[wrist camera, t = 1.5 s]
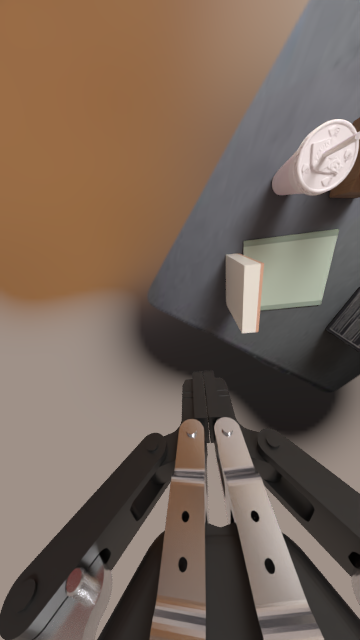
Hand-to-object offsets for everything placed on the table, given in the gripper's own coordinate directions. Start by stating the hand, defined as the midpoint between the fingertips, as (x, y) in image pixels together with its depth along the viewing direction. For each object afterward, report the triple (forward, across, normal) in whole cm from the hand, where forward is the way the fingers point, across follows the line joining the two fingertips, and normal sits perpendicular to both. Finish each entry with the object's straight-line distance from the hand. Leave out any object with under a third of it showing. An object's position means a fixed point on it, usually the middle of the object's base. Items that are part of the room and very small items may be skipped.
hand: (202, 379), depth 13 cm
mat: (+26, -18, 0) cm, 31 cm away
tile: (+26, -8, 0) cm, 27 cm away
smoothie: (+26, -16, -15) cm, 34 cm away
